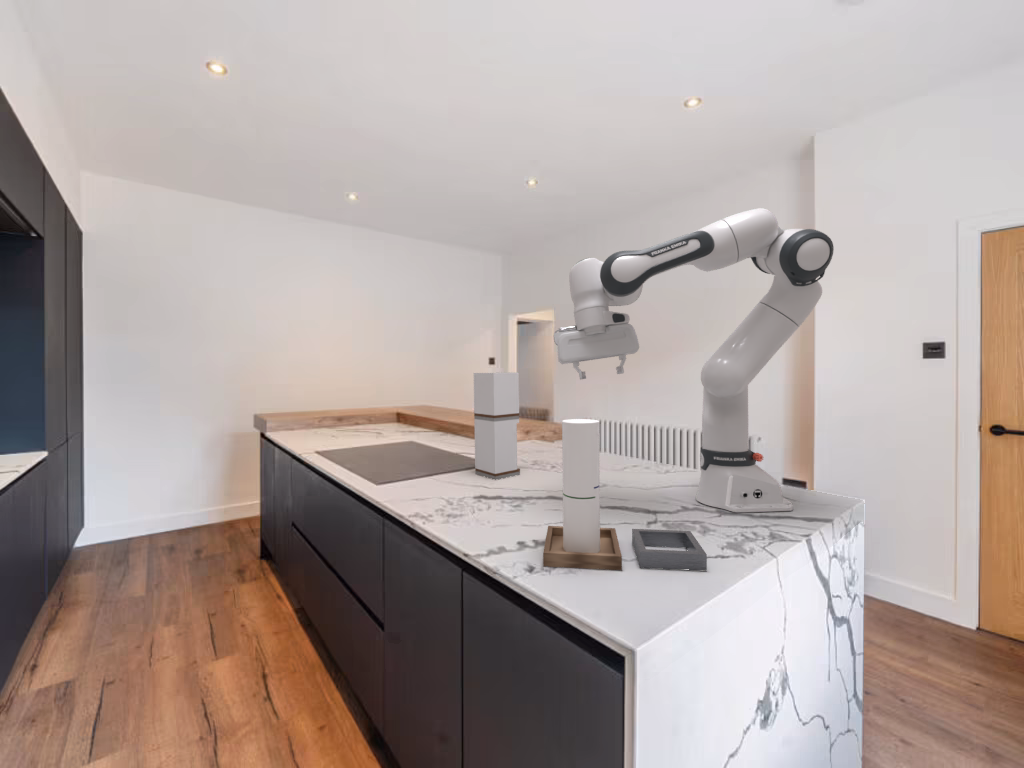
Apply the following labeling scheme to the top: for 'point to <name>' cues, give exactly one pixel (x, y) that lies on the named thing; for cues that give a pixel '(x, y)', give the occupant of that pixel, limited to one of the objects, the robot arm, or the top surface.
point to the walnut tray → (603, 559)
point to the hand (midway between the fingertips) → (601, 376)
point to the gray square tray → (668, 558)
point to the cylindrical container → (581, 485)
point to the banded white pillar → (496, 424)
